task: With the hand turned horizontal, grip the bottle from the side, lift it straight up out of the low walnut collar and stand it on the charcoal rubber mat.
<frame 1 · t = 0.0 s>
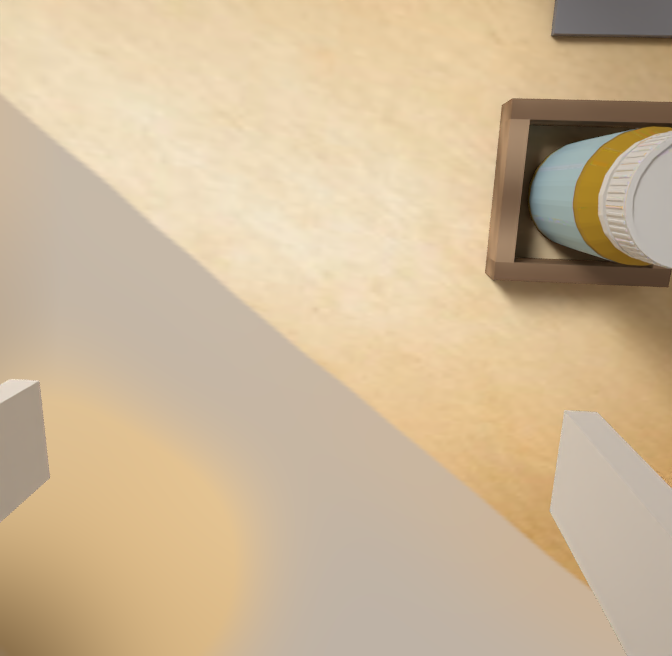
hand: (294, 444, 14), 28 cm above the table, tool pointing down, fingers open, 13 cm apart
bottle: (575, 194, 39), resting in walnut collar
walnut collar: (576, 194, 38), on the table
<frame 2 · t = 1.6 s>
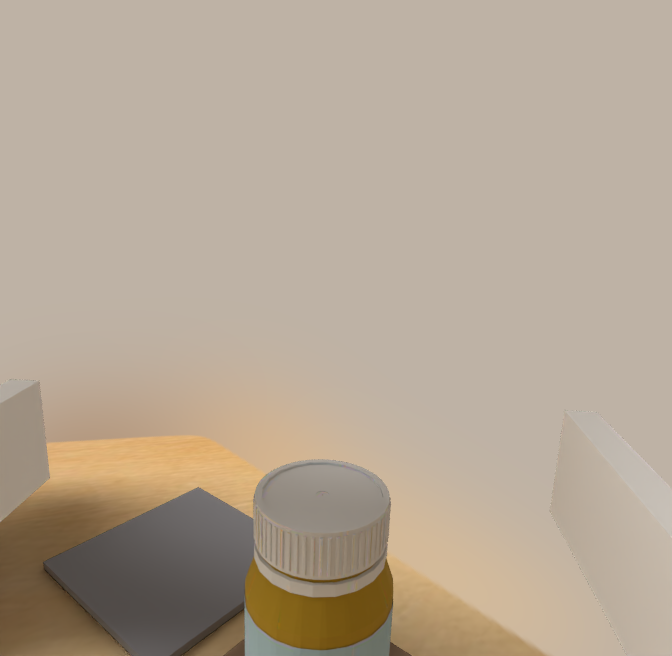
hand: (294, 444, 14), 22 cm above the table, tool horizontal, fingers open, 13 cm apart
charcoal mat: (180, 563, 42), on the table
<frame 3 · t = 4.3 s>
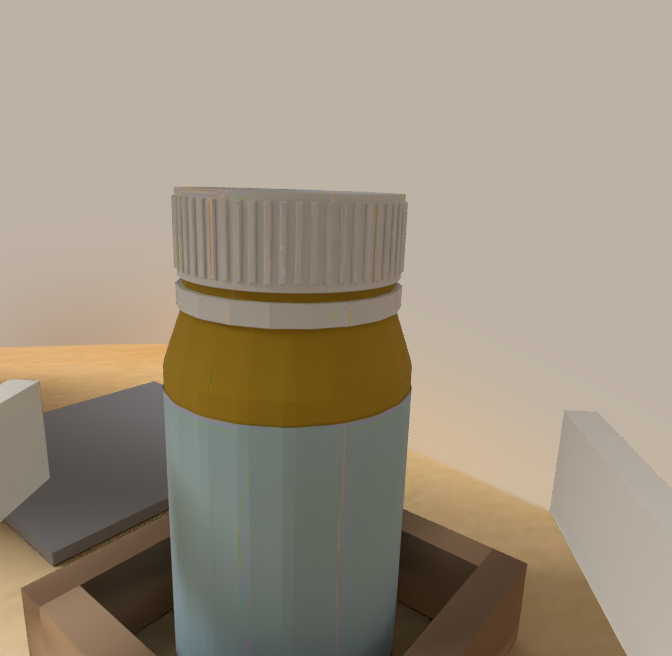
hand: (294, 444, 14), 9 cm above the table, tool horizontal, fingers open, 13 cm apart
charcoal mat: (119, 451, 32), on the table
walnut collar: (286, 652, 18), on the table
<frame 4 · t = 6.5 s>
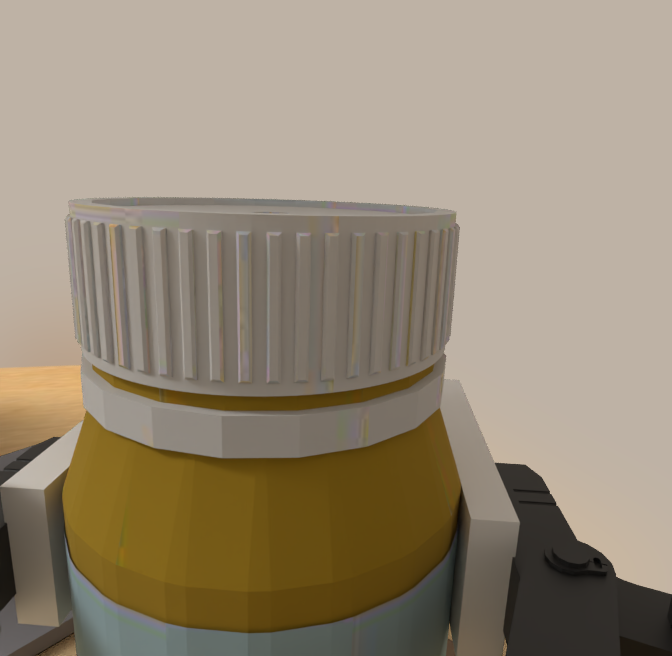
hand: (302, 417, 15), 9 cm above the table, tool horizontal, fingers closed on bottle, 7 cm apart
charcoal mat: (77, 510, 26), on the table
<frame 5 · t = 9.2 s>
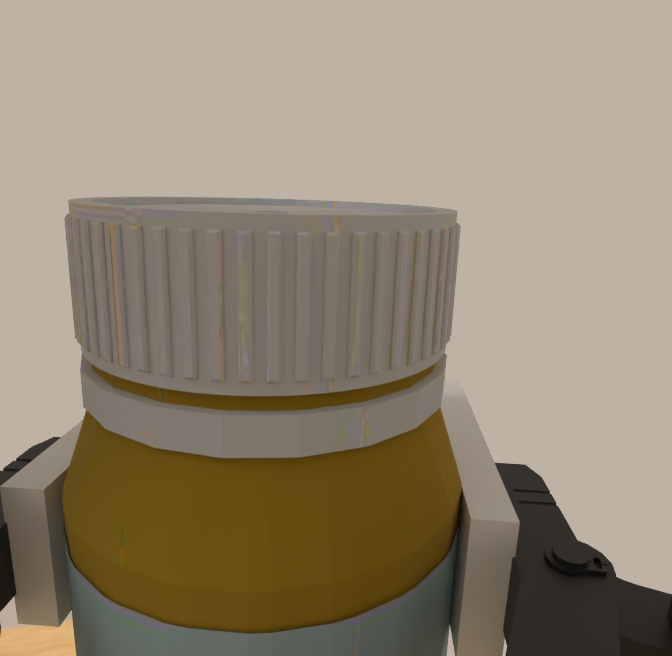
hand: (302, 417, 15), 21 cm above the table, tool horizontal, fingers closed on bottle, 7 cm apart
when the fingers open (11 cm above the table, at t = 11.9 s): bottle drops 1 cm, resting on charcoal mat.
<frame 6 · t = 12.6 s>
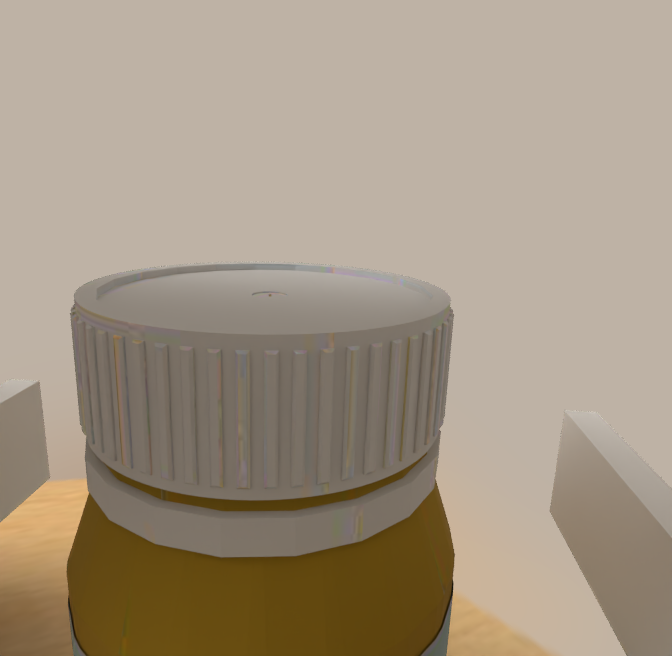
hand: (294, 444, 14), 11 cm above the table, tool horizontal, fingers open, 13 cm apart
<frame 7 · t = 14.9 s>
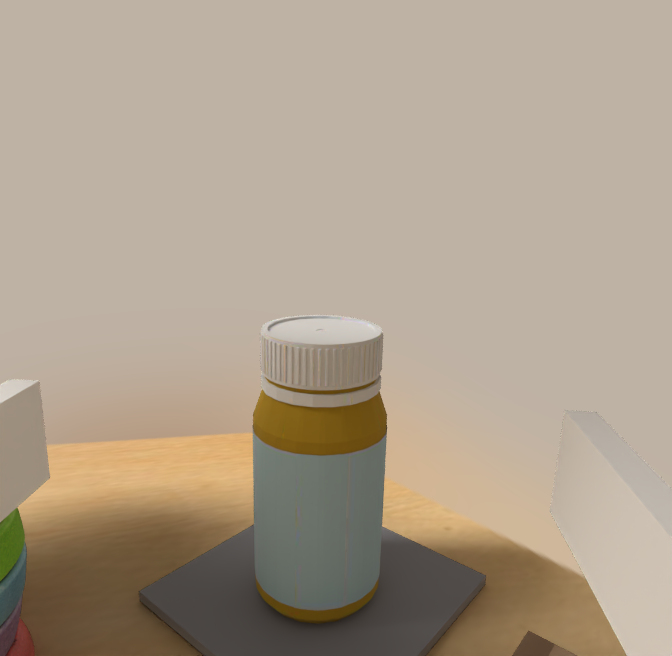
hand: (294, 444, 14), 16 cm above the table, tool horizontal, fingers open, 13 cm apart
charcoal mat: (317, 592, 32), on the table
bottle: (317, 586, 32), resting on charcoal mat
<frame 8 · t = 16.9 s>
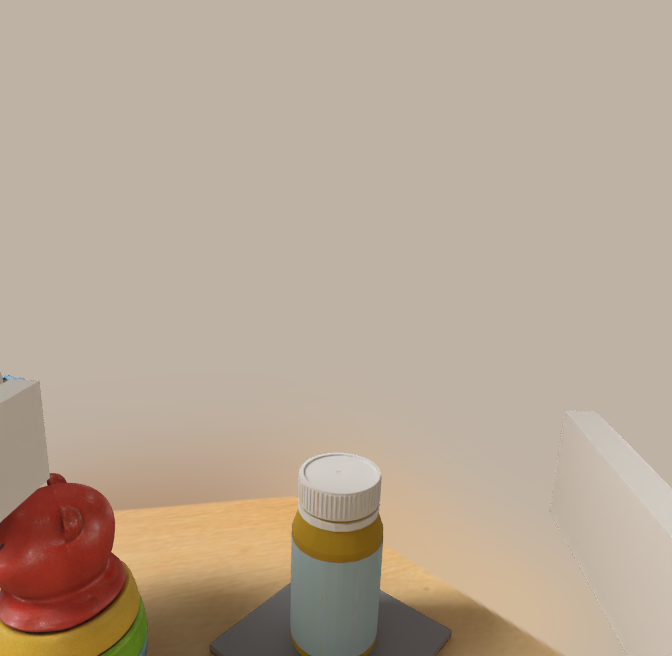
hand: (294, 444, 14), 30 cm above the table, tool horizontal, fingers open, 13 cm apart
charcoal mat: (333, 643, 45), on the table
bottle: (333, 639, 45), resting on charcoal mat
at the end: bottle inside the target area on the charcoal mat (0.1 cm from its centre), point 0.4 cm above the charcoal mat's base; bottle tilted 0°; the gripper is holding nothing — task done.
